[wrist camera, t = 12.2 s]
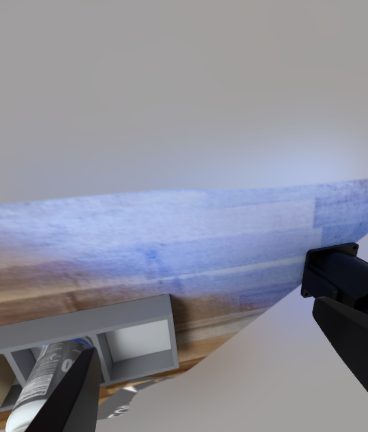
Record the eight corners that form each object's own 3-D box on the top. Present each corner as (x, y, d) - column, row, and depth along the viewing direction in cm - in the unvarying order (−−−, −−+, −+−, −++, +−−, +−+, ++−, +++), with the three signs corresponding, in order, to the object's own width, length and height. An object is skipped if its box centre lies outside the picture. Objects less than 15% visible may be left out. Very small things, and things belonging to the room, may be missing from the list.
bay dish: (169, 293, 22) (172, 314, 19) (175, 343, 25) (179, 367, 22) (-65, 338, 19) (-98, 369, 16) (-29, 390, 21) (-53, 424, 19)
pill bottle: (103, 353, 22) (81, 469, 14) (61, 372, 22) (15, 500, 14) (78, 323, 20) (38, 438, 12) (32, 344, 20) (-38, 474, 12)
